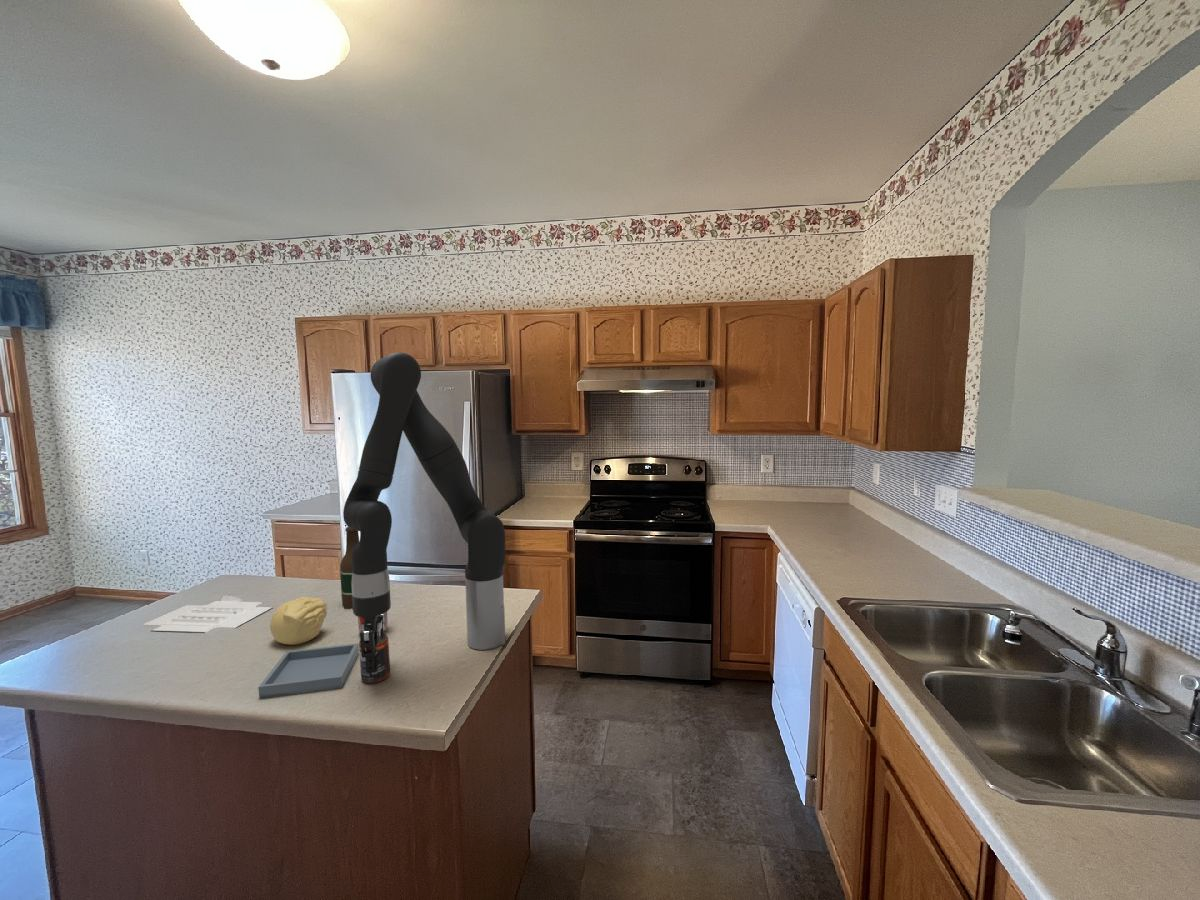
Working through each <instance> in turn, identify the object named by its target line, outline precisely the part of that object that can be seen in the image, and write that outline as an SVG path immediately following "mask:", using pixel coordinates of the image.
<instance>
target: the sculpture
mask: <svg viewBox="0 0 1200 900" xmlns="http://www.w3.org/2000/svg"><path fill="white" fill-rule="evenodd" d="M327 605H328V604H327V603H326V602H325V601H324V600H322V599H321V598H319V597H312V596H311V597H309V596H305V595H304V596H301V597H298V598H295V599H291V600H289V601H287V602H285V603H283V604H281V605H280V606H279V607H278V608H277V609H275V611H274V613H273V614H272V616H271V619H270V624H269V626H270V627H269V628H270V633H271V635H272V637H273V639H274V640H275V641H276V642H277V643H280V644H283V645H289V646H290V645H292V646H293V645H296V646H297V645H301V644H304V643H307V642H310V641H311V640H313V639H314V638H315V637H317V636H318V635H319V634H320V632H321V630H322V626H323V623H324V620H325V619H326V617H327V614H328V612H327V607H328V606H327Z"/></svg>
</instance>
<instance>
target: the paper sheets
mask: <svg viewBox="0 0 1200 900" xmlns="http://www.w3.org/2000/svg"><path fill="white" fill-rule="evenodd" d="M262 604H263V602H261V601H260V602H259V601H243V599H241V598H239V597H237V596H234V595H233V596H231V595H225V594H224V595H223V596H222V598H221V600H215V601H213V602H210V603H208V604H204V605H199V604H195V605H194V604H193V605H192V604H186V605H184V606H182V607H178V608H177V609H175V610H173V611H170V612H168V613H165V614H164V615H161V616H158V617H156V618H154V619H152V620H150V621H148V622H145V623H143V624H142V626H146V627H148V626H150V627H154V626H155V627H156V628H153V629H152V630H151V631H150V632H153V631H156V632H157V631H158V632H159V631H160V632H162V631H163V632H192V633H205V634H206V633H208V632H210V631H212V630H215V629H237V627H239V626H241V625H243V624H245V623H246V622H248V621H250V620H252V619H254V618H256V617H258V616H259V615H261V614H263V613H265V612H267V611H269V610H270V609H273V608H274V607H272V606H269V607H268V606H267V607H266V606H261V605H262Z"/></svg>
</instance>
